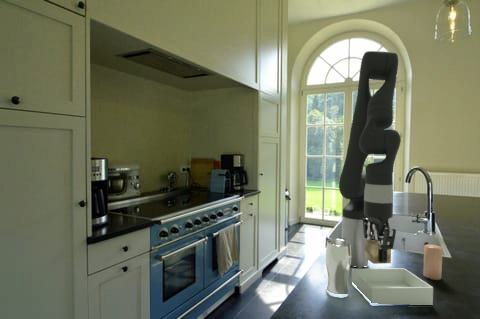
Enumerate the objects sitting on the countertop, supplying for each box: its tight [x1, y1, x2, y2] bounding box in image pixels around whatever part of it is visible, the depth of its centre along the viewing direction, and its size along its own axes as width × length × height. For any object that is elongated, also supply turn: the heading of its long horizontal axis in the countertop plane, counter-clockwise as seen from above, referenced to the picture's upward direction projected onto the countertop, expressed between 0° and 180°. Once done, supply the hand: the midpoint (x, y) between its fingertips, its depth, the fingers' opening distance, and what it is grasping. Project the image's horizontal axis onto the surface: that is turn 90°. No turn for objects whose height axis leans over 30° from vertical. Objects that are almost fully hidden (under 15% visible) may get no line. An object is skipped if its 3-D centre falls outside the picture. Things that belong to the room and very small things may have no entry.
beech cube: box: [365, 240, 392, 265], centre depth 85 cm, size 5×5×5 cm
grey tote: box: [351, 267, 434, 305], centre depth 86 cm, size 17×13×5 cm
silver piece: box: [325, 238, 351, 294], centre depth 86 cm, size 7×7×15 cm
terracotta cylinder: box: [422, 243, 443, 281], centre depth 99 cm, size 5×5×10 cm
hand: (377, 258), depth 85 cm, fingers closed on beech cube, 5 cm apart
